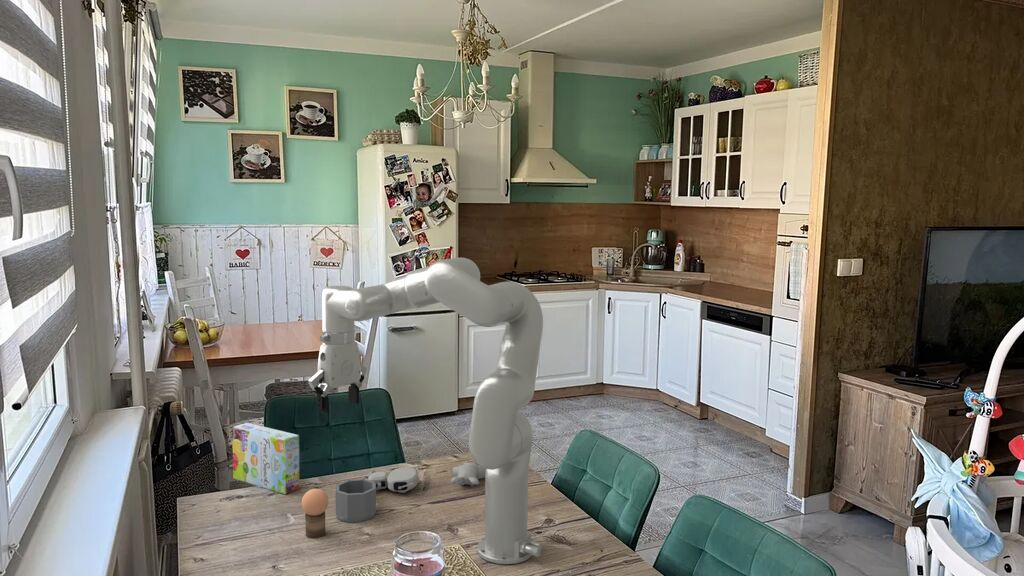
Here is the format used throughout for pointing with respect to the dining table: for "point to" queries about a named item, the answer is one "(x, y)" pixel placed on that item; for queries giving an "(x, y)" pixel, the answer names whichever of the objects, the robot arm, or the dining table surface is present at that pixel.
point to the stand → (315, 525)
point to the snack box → (266, 457)
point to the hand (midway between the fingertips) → (338, 407)
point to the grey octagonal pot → (355, 500)
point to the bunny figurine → (468, 474)
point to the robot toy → (395, 479)
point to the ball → (314, 502)
